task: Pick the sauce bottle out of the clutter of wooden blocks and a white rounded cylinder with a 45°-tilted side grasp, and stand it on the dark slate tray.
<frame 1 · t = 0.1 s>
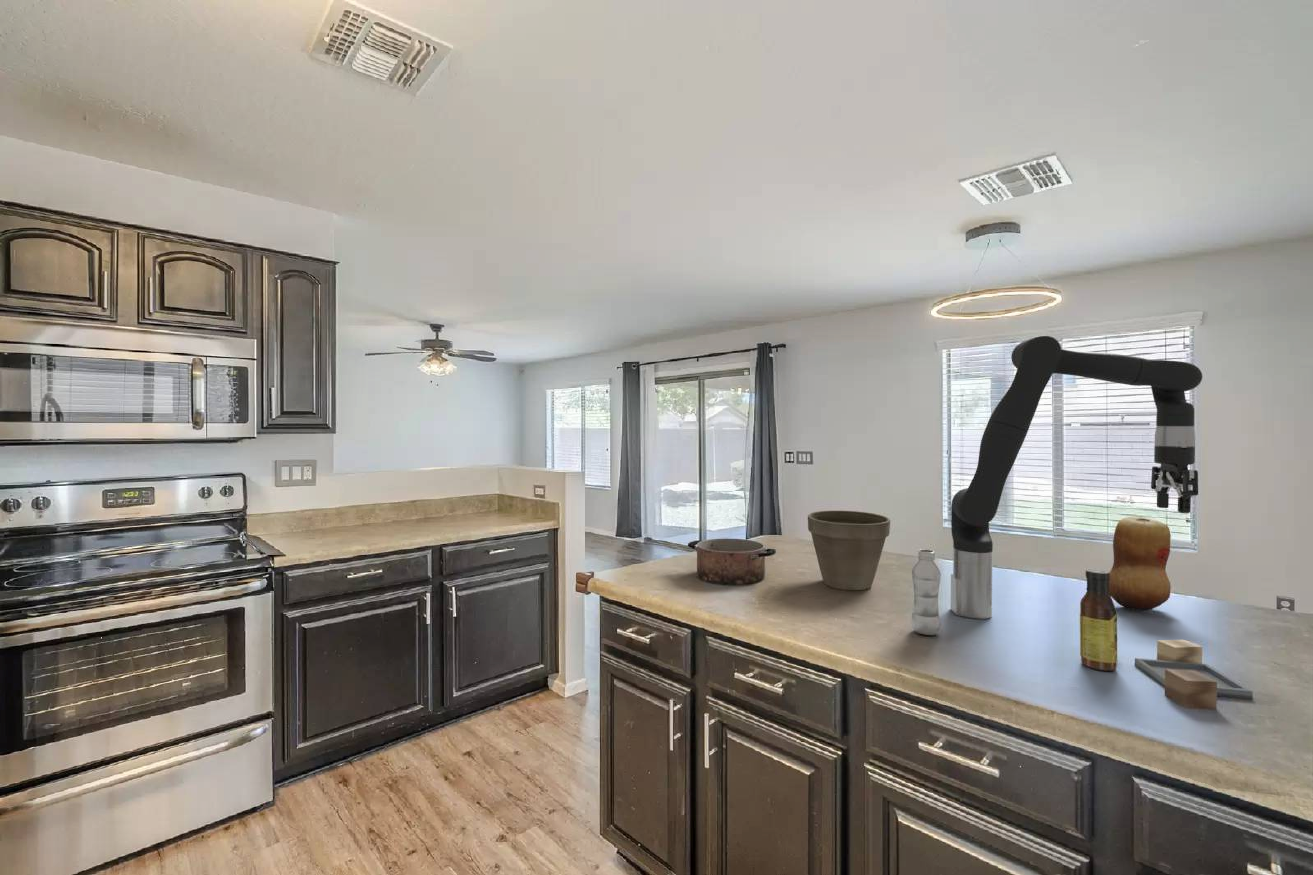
hand: (1173, 510, 145), 29 cm above the counter, tool pointing down, fingers open, 8 cm apart
oak block: (1178, 664, 124), on the counter
walnut block: (1189, 702, 107), on the counter
white rounded cylinder: (1098, 651, 130), on the counter
tray: (1189, 681, 115), on the counter
plant pot: (847, 585, 185), on the counter
plastic bottle: (925, 634, 142), on the counter
cooking pot: (730, 577, 195), on the counter
sauce bottle: (1097, 667, 123), on the counter
butternut squash: (1137, 610, 160), on the counter
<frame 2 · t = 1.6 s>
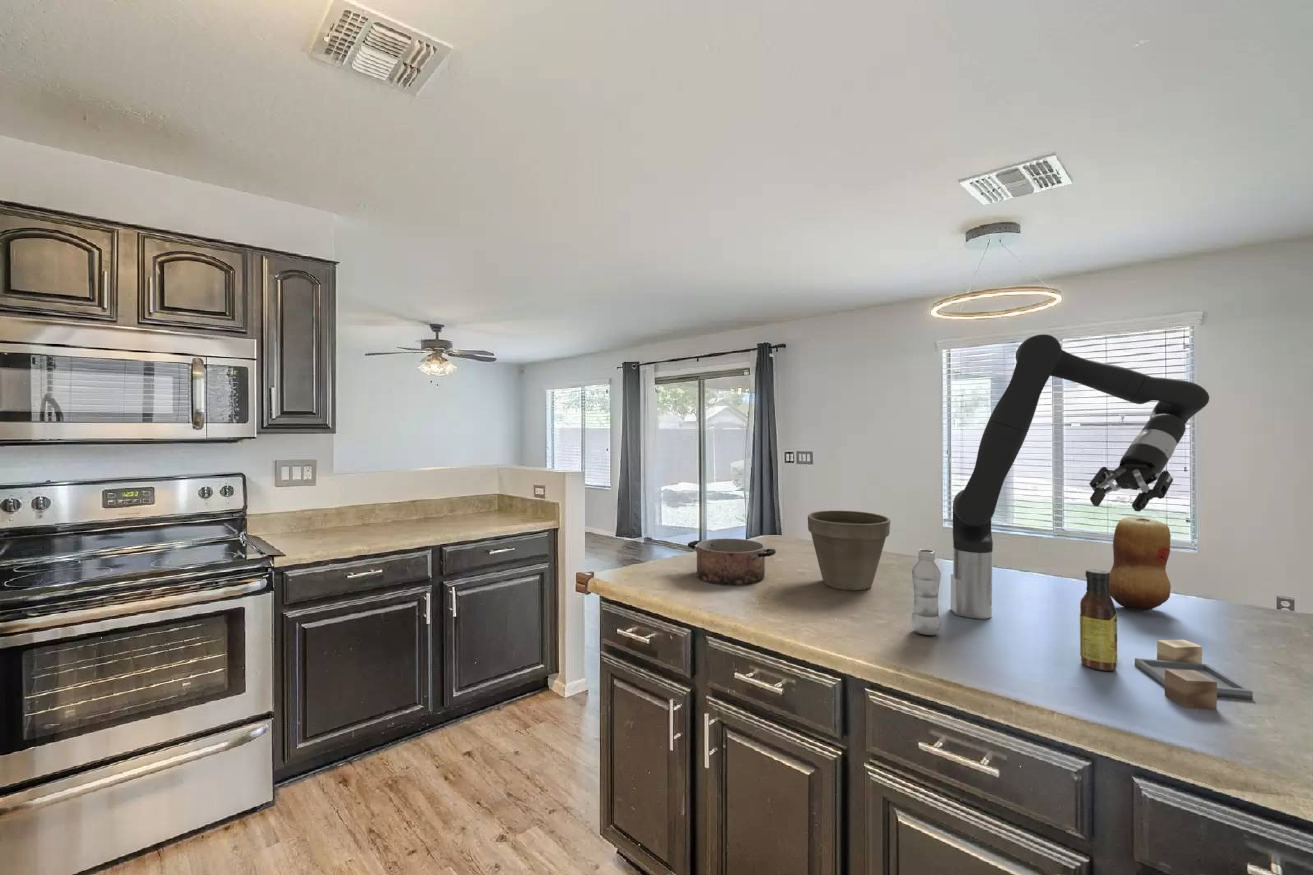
hand: (1114, 506, 130), 32 cm above the counter, tool tilted 45°, fingers open, 8 cm apart
nothing on the counter moved.
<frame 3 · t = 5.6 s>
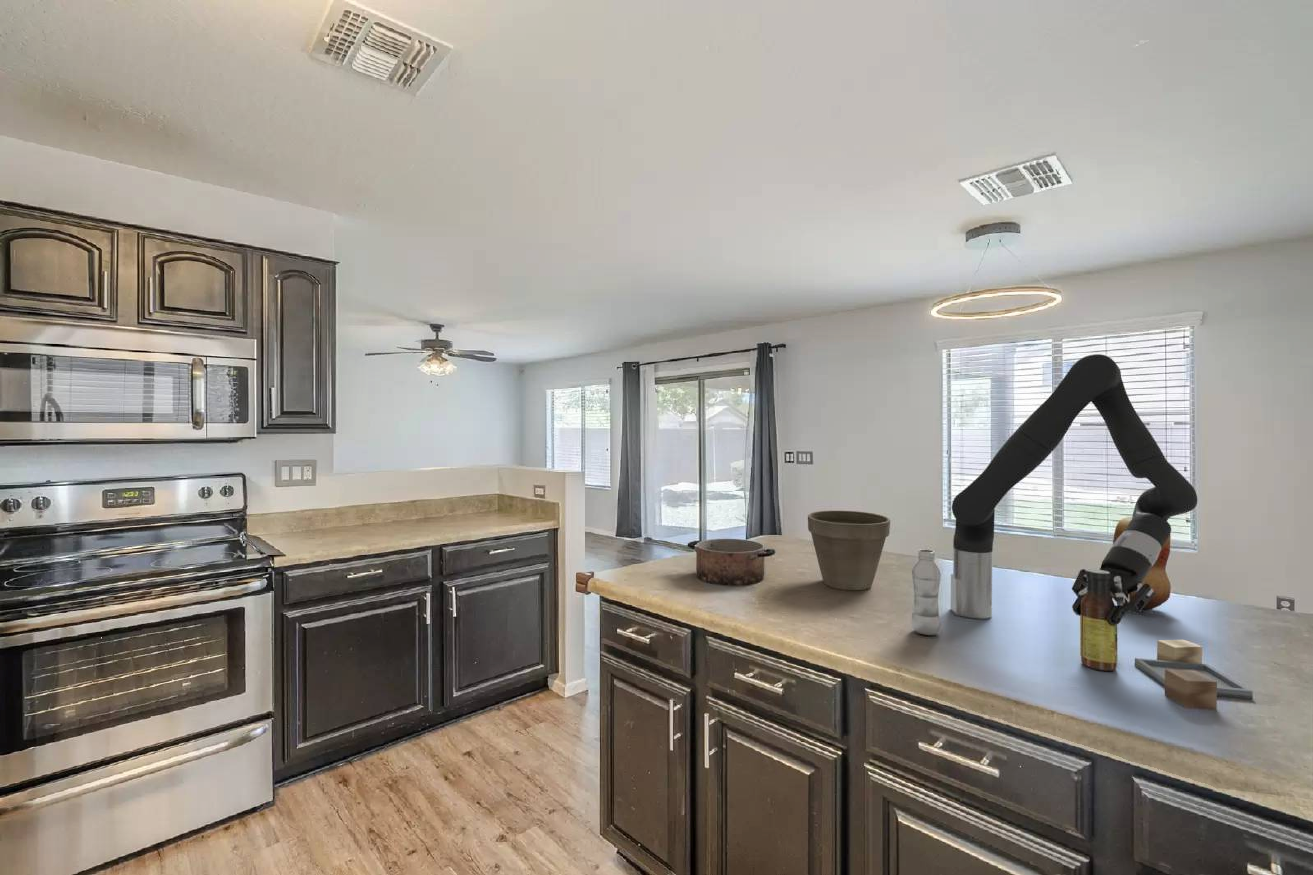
hand: (1092, 617, 122), 10 cm above the counter, tool tilted 45°, fingers closed on sauce bottle, 6 cm apart
sauce bottle: (1097, 666, 123), on the counter, touching gripper
everything else where it was.
when the fingers open (12 cm above the counter, at t = 11.0 s): sauce bottle drops 1 cm, resting on tray.
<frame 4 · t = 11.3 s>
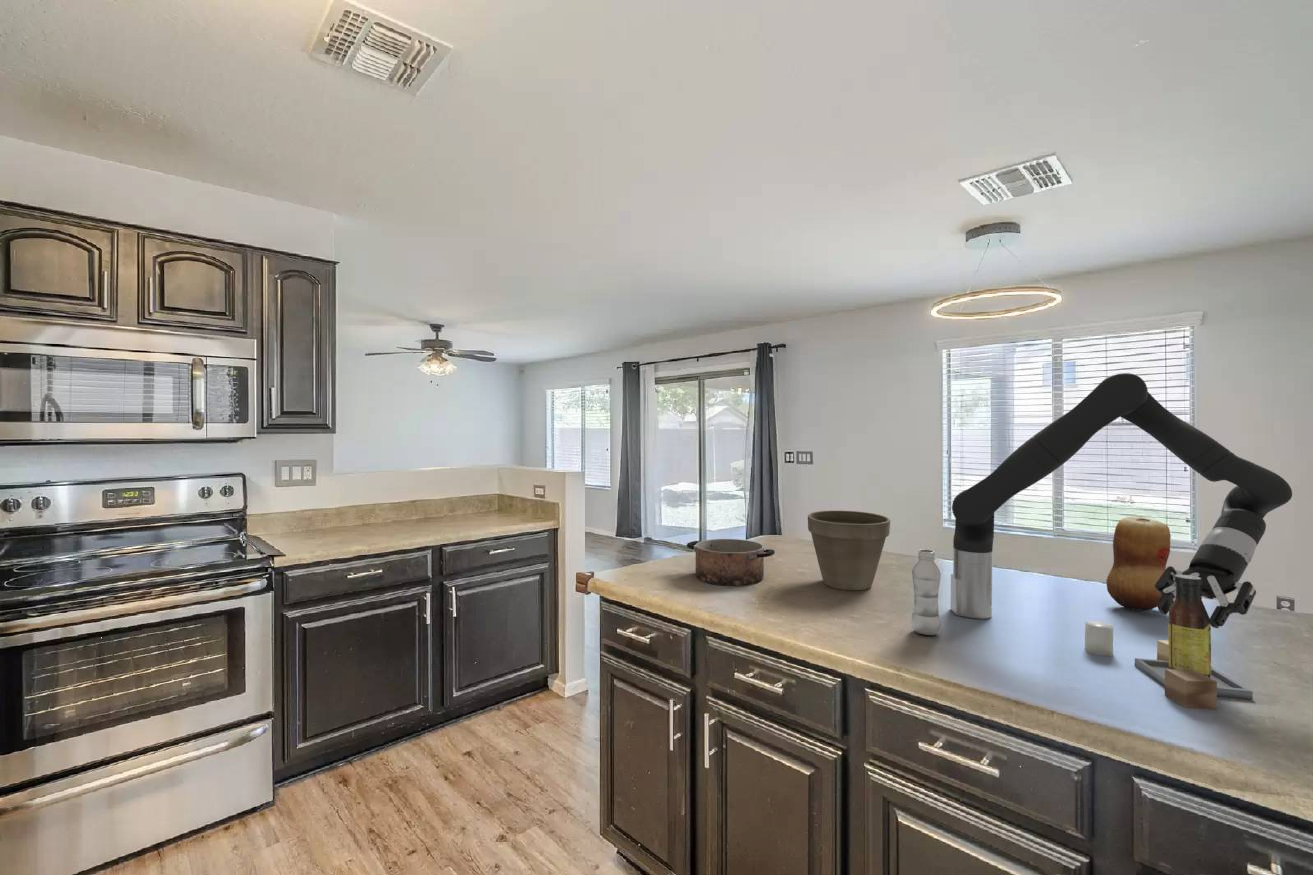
hand: (1186, 618, 115), 13 cm above the counter, tool tilted 45°, fingers open, 8 cm apart
sauce bottle: (1188, 678, 116), resting on tray
everything else where it was.
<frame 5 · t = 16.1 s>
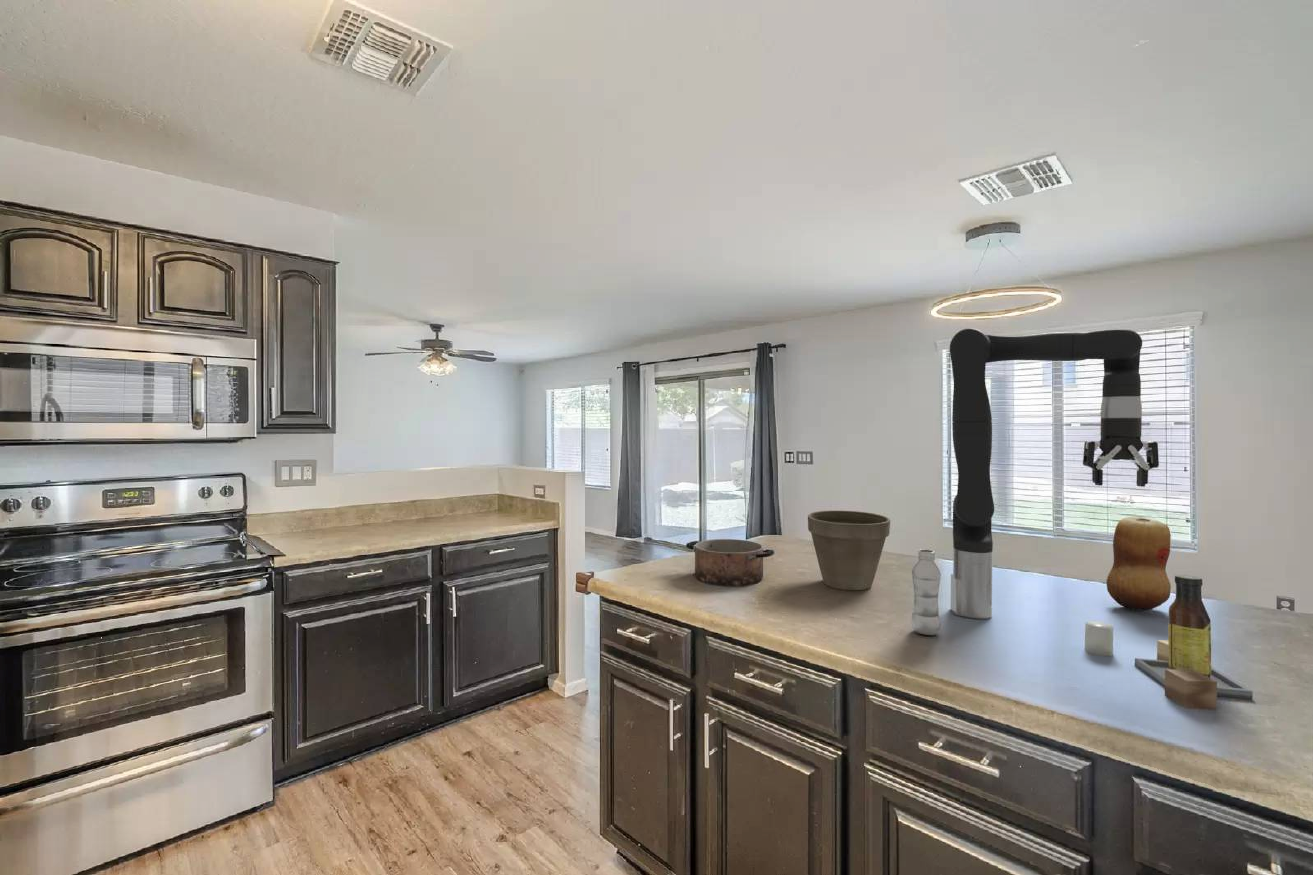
hand: (1119, 485, 137), 36 cm above the counter, tool pointing down, fingers open, 8 cm apart
at the end: sauce bottle inside the target area on the tray (0.4 cm from its centre), point 0.4 cm above the tray's base; sauce bottle tilted 0°; the gripper is holding nothing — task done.
